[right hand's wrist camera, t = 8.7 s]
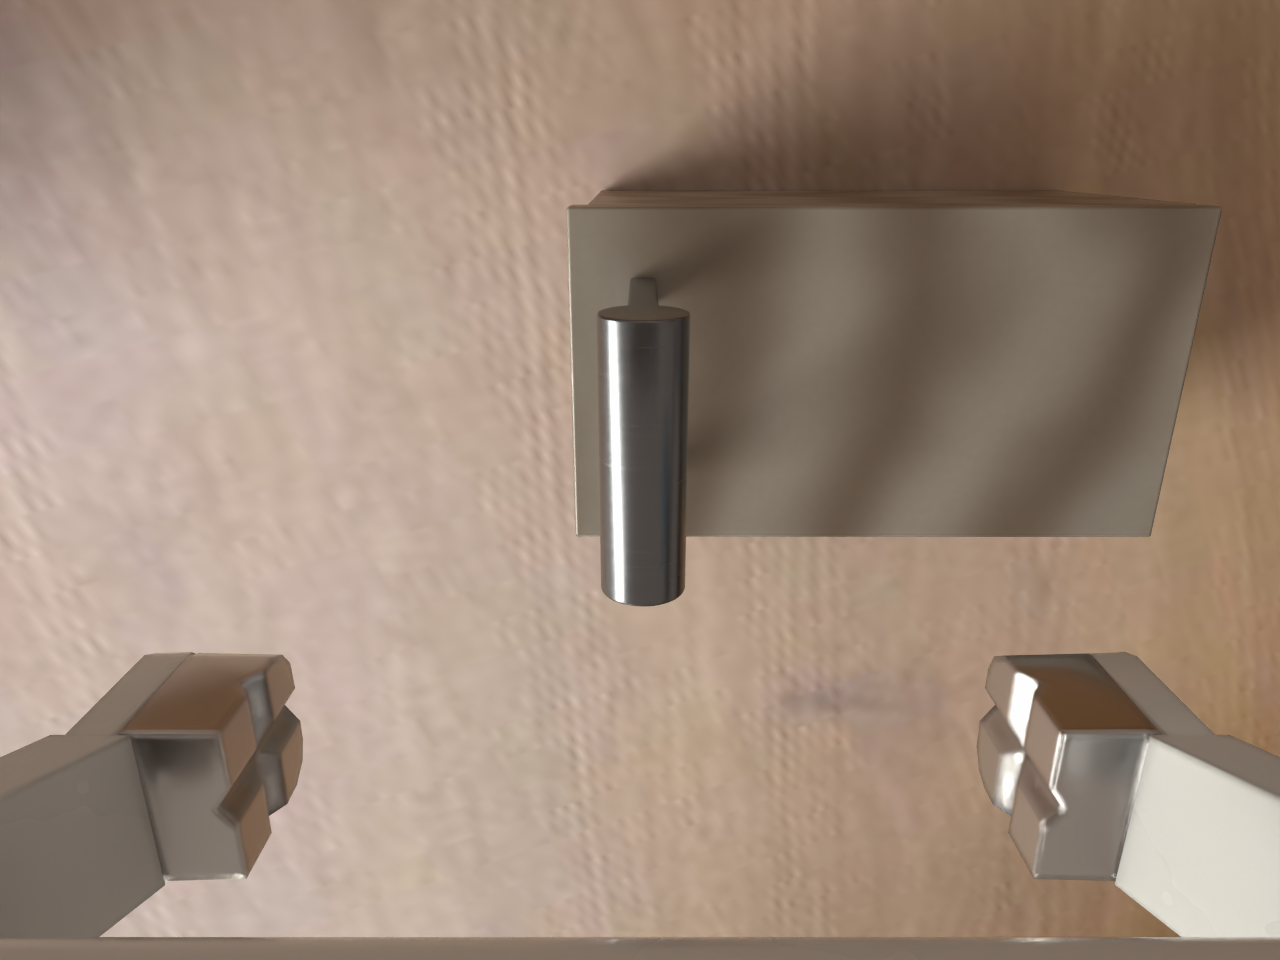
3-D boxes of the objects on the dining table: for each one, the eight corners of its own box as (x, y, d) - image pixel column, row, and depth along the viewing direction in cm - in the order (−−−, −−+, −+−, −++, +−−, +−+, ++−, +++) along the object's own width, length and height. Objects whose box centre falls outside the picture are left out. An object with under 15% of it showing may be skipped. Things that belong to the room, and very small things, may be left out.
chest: (604, 437, 35) (592, 524, 27) (600, 190, 32) (586, 204, 24) (1019, 437, 35) (1133, 524, 27) (1058, 190, 32) (1201, 204, 24)
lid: (577, 524, 27) (551, 673, 19) (568, 204, 24) (533, 230, 16) (1134, 525, 27) (1330, 674, 19) (1202, 204, 24) (1469, 230, 16)
